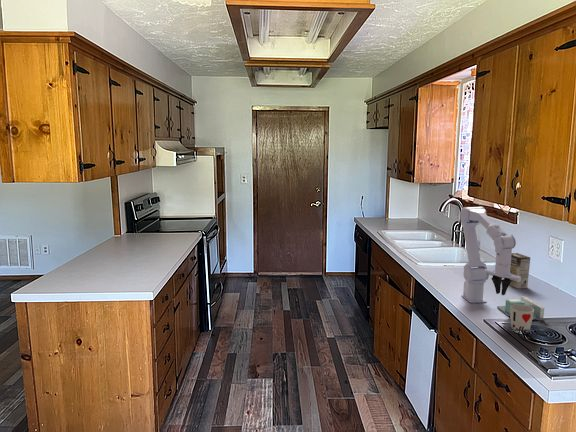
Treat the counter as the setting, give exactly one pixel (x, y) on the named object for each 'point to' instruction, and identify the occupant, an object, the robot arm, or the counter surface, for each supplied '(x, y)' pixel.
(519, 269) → the coffee box
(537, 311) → the rail base
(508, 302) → the module
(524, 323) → the cup
